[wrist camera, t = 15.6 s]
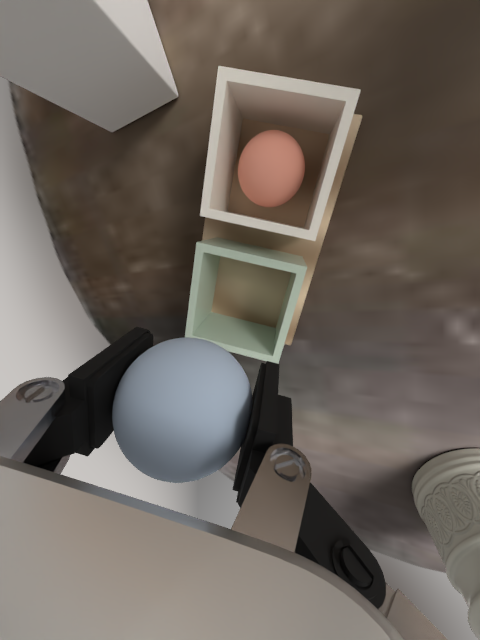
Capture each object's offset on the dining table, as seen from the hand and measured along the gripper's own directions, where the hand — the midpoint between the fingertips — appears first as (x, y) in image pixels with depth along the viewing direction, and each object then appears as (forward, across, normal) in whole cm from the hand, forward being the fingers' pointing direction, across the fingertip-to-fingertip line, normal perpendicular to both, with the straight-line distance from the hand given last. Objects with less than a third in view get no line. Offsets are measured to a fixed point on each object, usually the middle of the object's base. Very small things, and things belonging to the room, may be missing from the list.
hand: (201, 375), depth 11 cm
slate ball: (+1, 0, 0) cm, 1 cm away
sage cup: (+15, 0, 0) cm, 15 cm away
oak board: (+17, 0, -5) cm, 17 cm away
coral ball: (+15, 0, -10) cm, 18 cm away
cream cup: (+15, 0, -10) cm, 18 cm away
